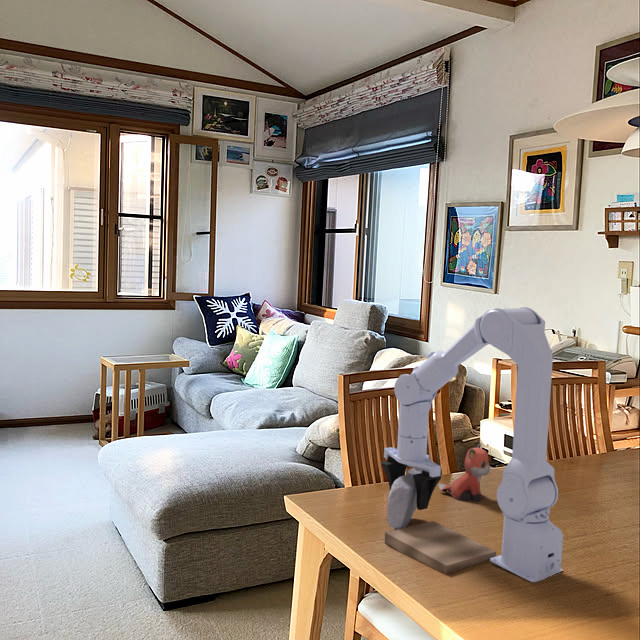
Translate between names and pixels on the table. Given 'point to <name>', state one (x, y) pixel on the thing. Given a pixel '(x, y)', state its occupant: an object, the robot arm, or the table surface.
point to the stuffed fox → (470, 476)
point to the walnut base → (438, 546)
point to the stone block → (402, 500)
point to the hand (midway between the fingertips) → (408, 502)
